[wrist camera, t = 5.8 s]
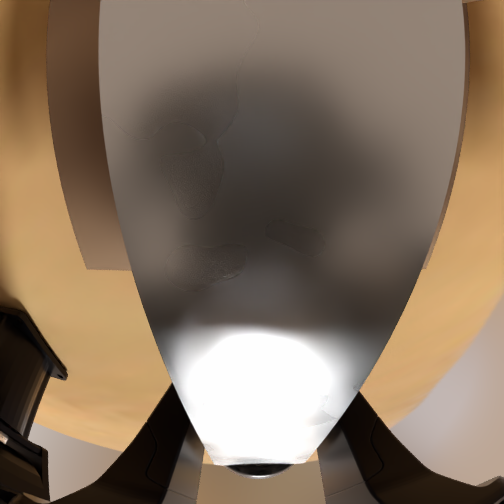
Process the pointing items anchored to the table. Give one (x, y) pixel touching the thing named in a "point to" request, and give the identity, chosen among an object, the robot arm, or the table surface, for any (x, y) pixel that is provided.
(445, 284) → the table surface
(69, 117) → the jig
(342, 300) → the shaft
